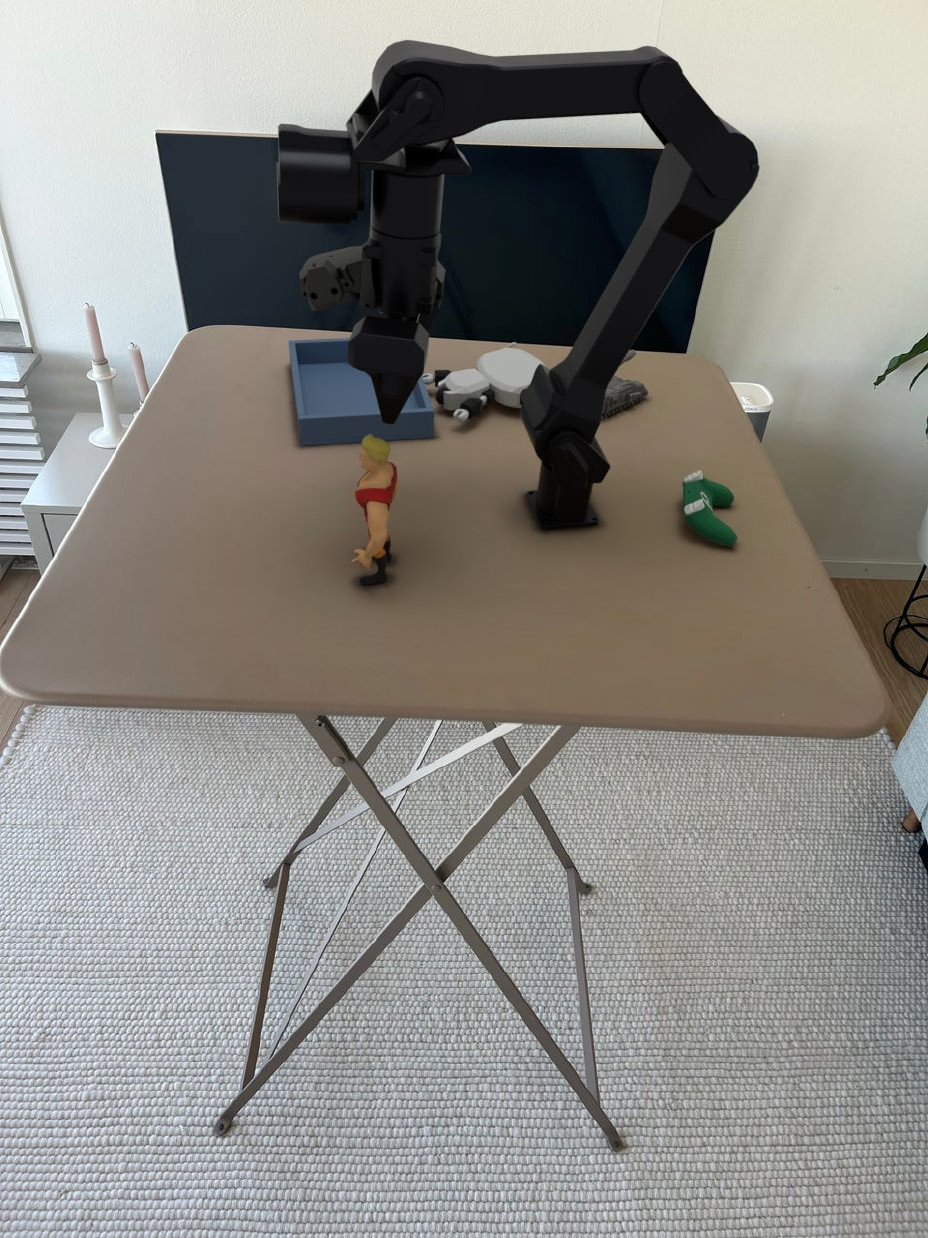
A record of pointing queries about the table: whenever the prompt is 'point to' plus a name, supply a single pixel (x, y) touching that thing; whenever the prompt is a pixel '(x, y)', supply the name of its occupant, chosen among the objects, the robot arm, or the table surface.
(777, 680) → the table surface
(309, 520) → the table surface
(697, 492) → the green christmas stockings
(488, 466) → the table surface
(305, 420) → the storage bin
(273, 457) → the table surface
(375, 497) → the action figure
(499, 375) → the robot toy
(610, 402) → the tank toy
